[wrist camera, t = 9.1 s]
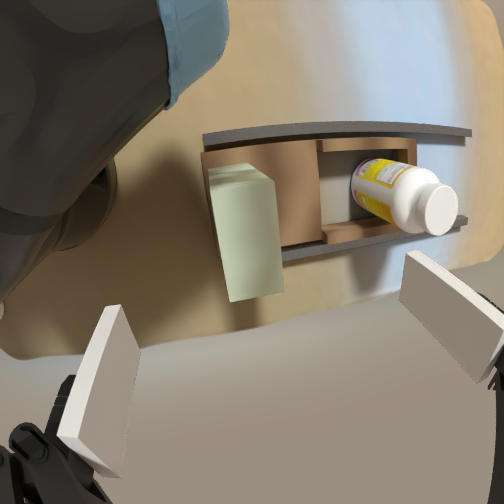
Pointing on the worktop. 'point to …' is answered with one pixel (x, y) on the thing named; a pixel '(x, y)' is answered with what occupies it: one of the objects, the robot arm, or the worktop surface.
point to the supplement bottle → (404, 196)
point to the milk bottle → (1, 310)
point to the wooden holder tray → (279, 206)
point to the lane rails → (327, 127)
